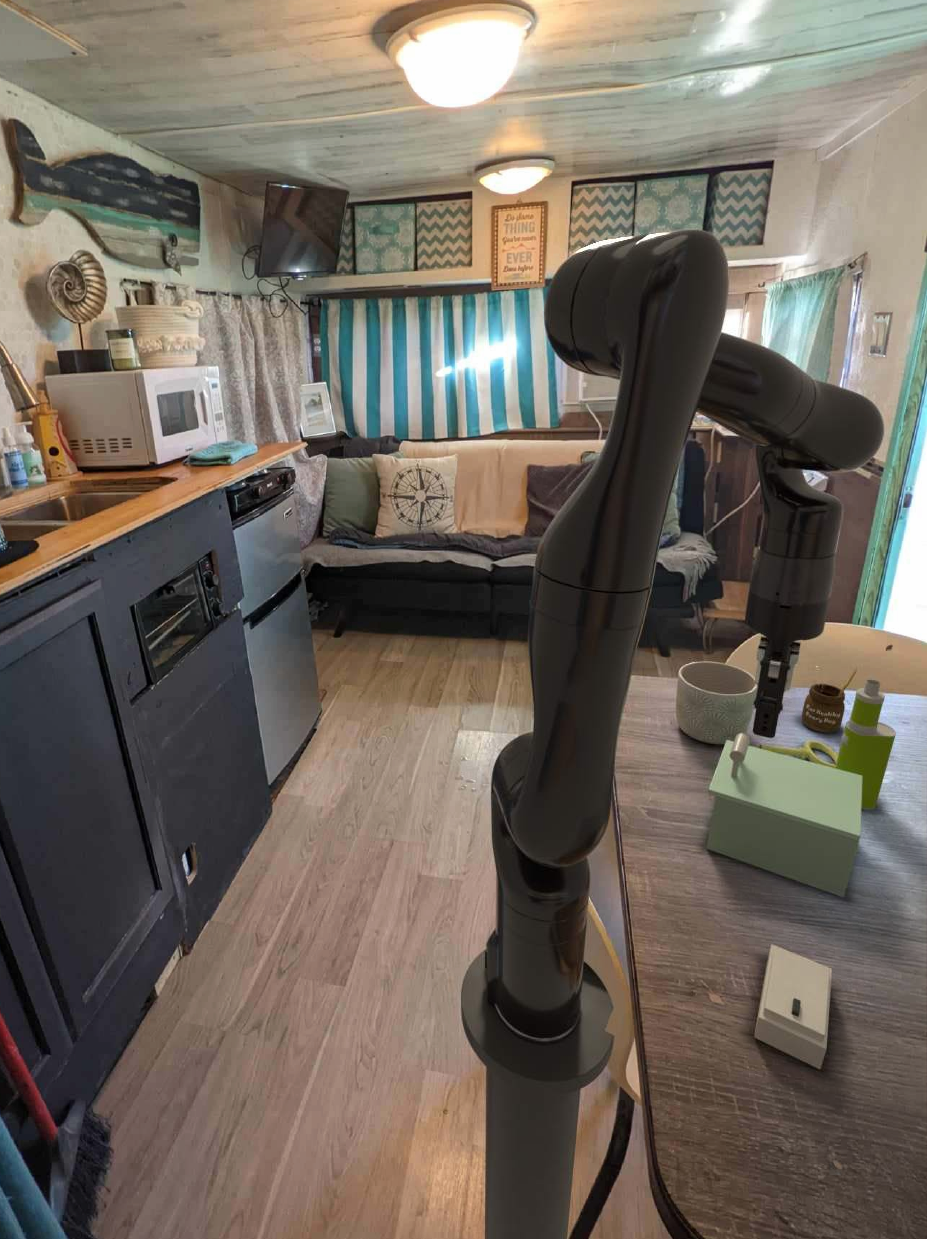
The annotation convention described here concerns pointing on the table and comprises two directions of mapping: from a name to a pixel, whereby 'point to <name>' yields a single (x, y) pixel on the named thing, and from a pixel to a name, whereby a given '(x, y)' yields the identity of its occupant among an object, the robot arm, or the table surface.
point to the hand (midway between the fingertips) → (767, 716)
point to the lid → (789, 788)
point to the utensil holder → (824, 706)
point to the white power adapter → (795, 1006)
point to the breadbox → (782, 846)
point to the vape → (867, 743)
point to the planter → (714, 701)
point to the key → (805, 752)
